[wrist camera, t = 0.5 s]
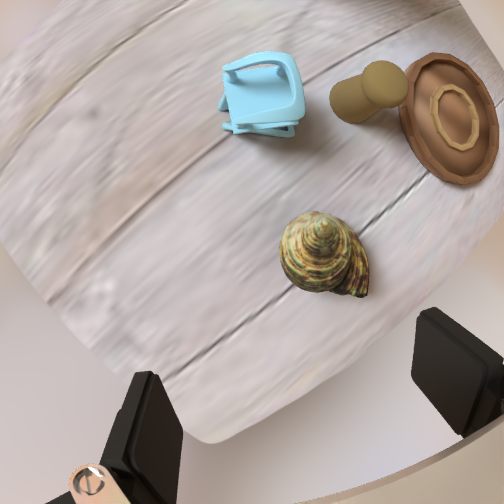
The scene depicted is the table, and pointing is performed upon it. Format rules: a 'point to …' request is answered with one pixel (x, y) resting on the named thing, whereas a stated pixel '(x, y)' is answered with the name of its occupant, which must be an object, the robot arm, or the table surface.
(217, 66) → the table surface
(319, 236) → the seashell
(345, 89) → the cork
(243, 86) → the chair
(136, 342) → the table surface
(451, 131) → the ring tray
